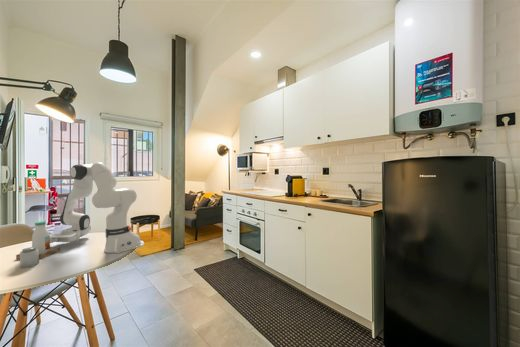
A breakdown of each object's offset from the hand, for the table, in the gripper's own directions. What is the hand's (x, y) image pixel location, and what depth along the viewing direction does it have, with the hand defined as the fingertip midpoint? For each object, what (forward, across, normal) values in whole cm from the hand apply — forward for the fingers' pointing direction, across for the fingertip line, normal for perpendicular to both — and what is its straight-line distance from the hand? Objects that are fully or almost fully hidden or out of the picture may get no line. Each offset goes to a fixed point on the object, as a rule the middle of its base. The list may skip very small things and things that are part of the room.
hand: (47, 242), depth 136 cm
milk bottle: (+4, 0, +6) cm, 7 cm away
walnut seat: (+5, 0, +6) cm, 8 cm away
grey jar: (+19, +10, +6) cm, 22 cm away
